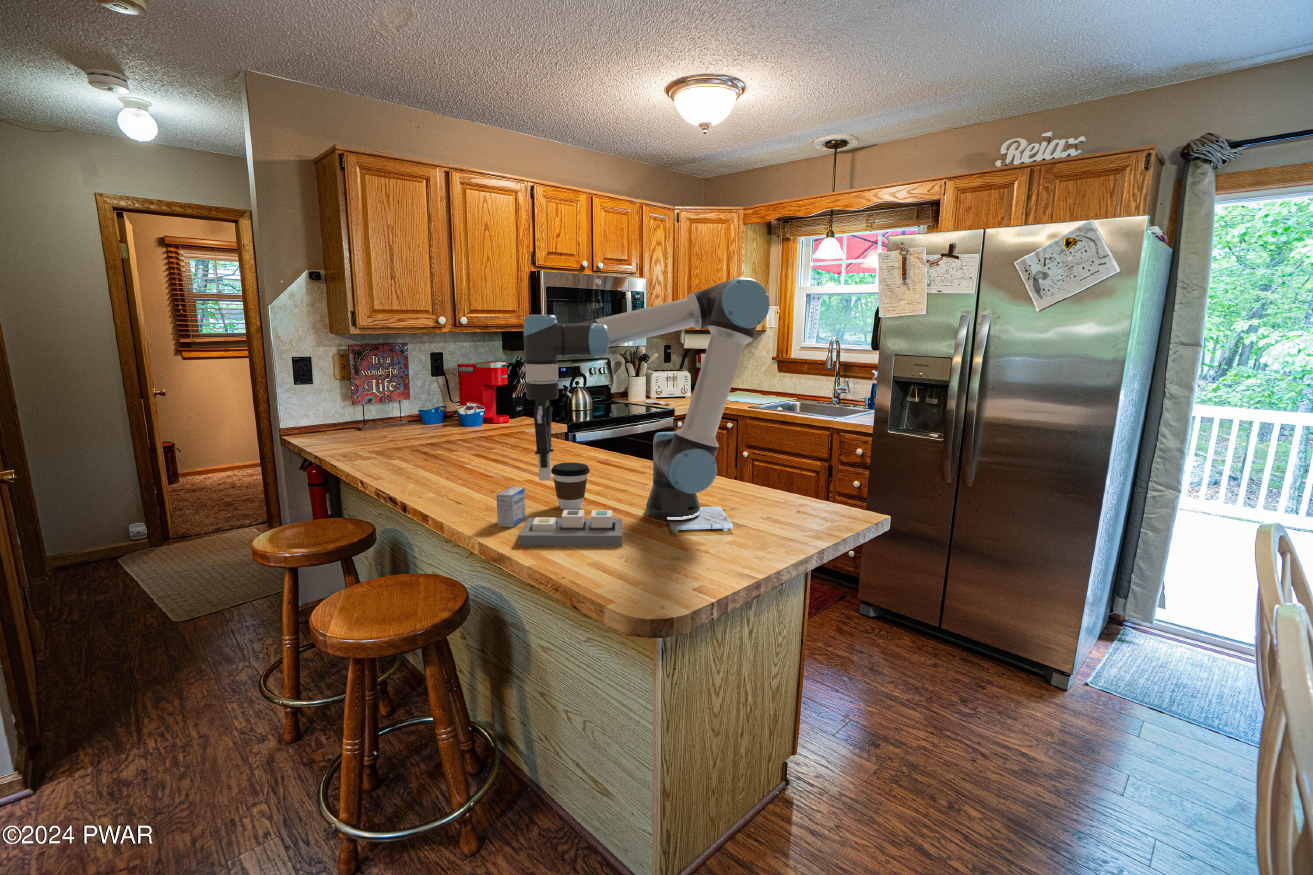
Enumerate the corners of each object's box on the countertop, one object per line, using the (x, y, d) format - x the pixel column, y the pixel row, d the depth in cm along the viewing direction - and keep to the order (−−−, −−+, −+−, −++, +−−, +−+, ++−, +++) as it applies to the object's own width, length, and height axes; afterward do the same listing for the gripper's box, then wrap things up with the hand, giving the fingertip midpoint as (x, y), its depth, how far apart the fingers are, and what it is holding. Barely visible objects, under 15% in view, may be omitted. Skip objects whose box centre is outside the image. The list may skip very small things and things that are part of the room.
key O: (612, 520, 148) (612, 509, 147) (611, 527, 143) (611, 515, 143) (592, 520, 148) (592, 509, 147) (590, 527, 143) (590, 515, 142)
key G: (556, 528, 148) (555, 516, 147) (553, 535, 143) (553, 523, 142) (535, 528, 147) (535, 516, 147) (532, 535, 143) (532, 523, 142)
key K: (584, 520, 148) (584, 509, 147) (582, 527, 143) (582, 515, 142) (564, 520, 147) (563, 509, 147) (561, 527, 143) (561, 515, 142)
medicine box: (513, 528, 151) (512, 495, 149) (497, 526, 152) (496, 494, 150) (526, 518, 159) (525, 487, 157) (510, 517, 159) (509, 486, 158)
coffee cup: (597, 505, 171) (597, 465, 169) (572, 515, 162) (572, 472, 160) (568, 499, 177) (568, 460, 175) (543, 508, 168) (542, 467, 166)
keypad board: (622, 527, 153) (622, 518, 152) (621, 546, 140) (621, 535, 139) (528, 527, 152) (528, 517, 151) (519, 545, 139) (518, 535, 138)
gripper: (530, 379, 145) (533, 473, 149) (520, 384, 132) (524, 487, 136) (561, 379, 145) (563, 473, 149) (554, 384, 132) (557, 486, 137)
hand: (545, 479), depth 143 cm, fingers closed
